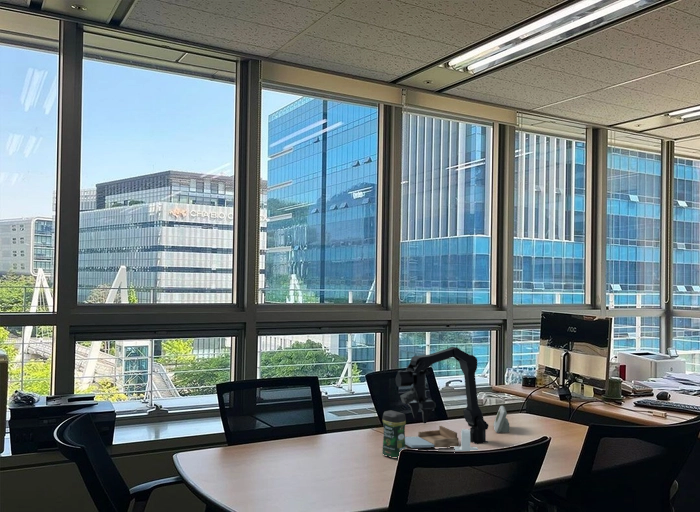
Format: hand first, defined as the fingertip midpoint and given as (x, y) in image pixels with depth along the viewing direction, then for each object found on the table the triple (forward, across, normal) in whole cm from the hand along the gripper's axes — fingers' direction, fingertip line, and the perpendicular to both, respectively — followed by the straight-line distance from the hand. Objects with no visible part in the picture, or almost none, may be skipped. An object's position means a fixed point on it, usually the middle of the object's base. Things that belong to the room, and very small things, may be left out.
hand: (419, 421), depth 269 cm
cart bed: (+12, -3, +11) cm, 16 cm away
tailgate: (+10, -3, +5) cm, 11 cm away
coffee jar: (+12, +8, -16) cm, 21 cm away
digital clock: (+13, -17, +52) cm, 56 cm away
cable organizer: (+12, +14, +15) cm, 24 cm away
